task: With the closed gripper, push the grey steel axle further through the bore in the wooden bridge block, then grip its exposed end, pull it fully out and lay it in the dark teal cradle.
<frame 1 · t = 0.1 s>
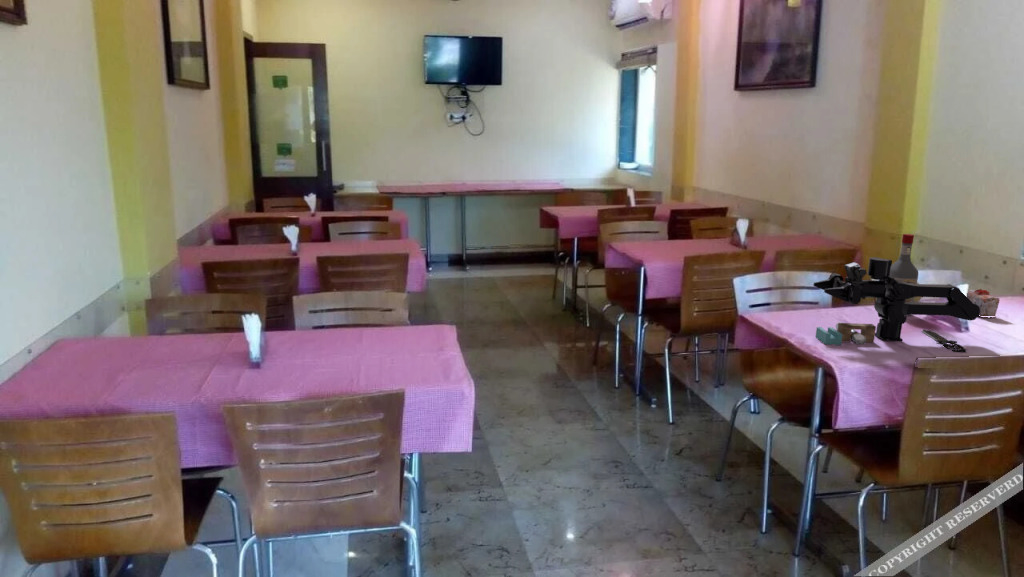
hand: (819, 287, 253), 17 cm above the table, tool horizontal, fingers open, 9 cm apart
cradle: (828, 340, 251), on the table
food item: (976, 315, 294), on the table
liquor: (896, 313, 291), on the table
tan rounded piece: (907, 305, 304), on the table
knife: (940, 342, 256), on the table
wooden bridge block: (854, 340, 253), on the table
axle: (849, 337, 257), on the table
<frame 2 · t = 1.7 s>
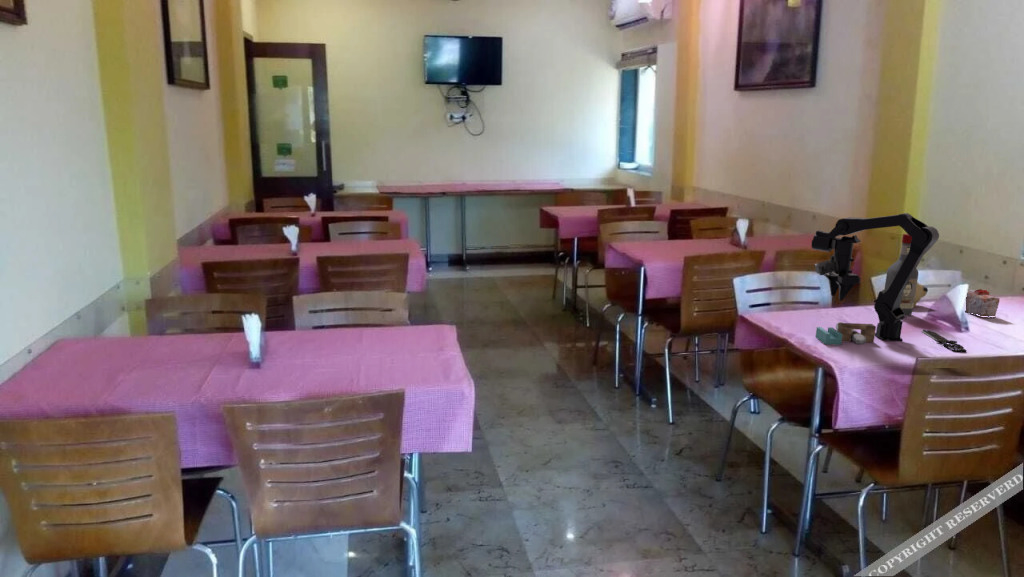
hand: (836, 298, 268), 10 cm above the table, tool pointing down, fingers open, 6 cm apart
nothing on the table moved.
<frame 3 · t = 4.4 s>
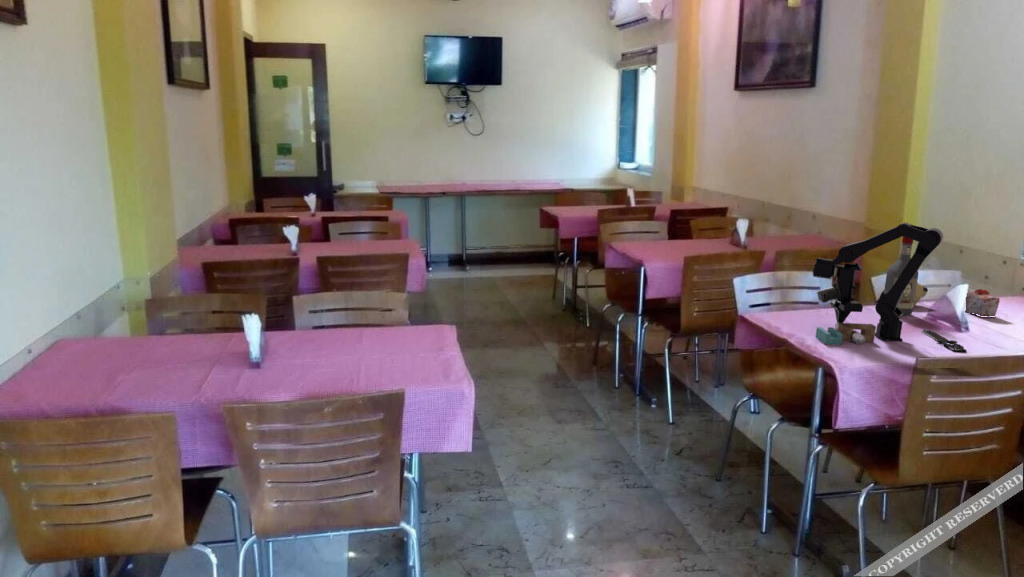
hand: (839, 325, 265), 1 cm above the table, tool pointing down, fingers closed
axle: (849, 337, 257), on the table, tilted 7°, touching gripper
everything else where it was.
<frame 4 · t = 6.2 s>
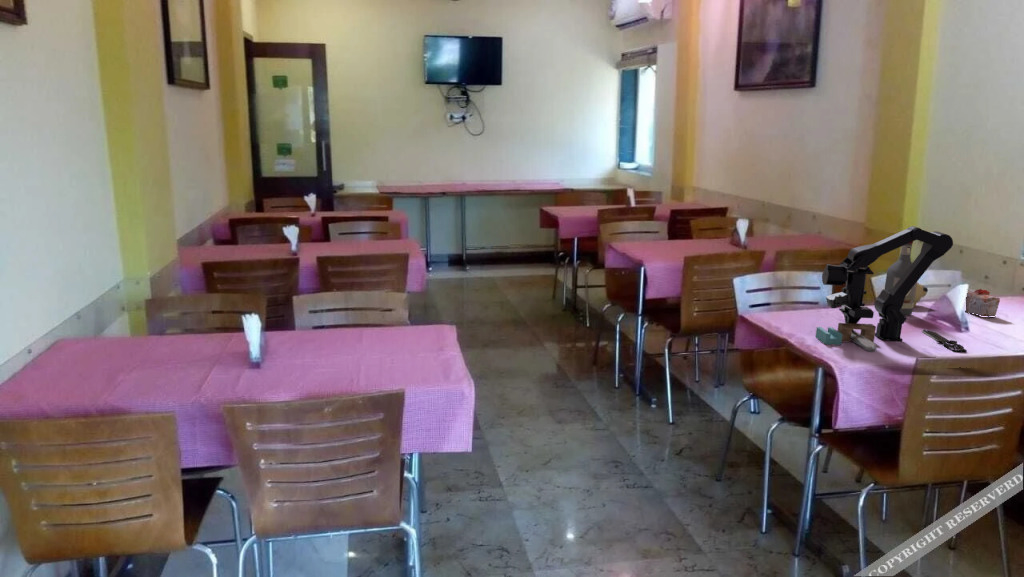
hand: (848, 331, 258), 2 cm above the table, tool pointing down, fingers closed
axle: (860, 344, 249), on the table, tilted 9°, touching gripper
everything else where it was.
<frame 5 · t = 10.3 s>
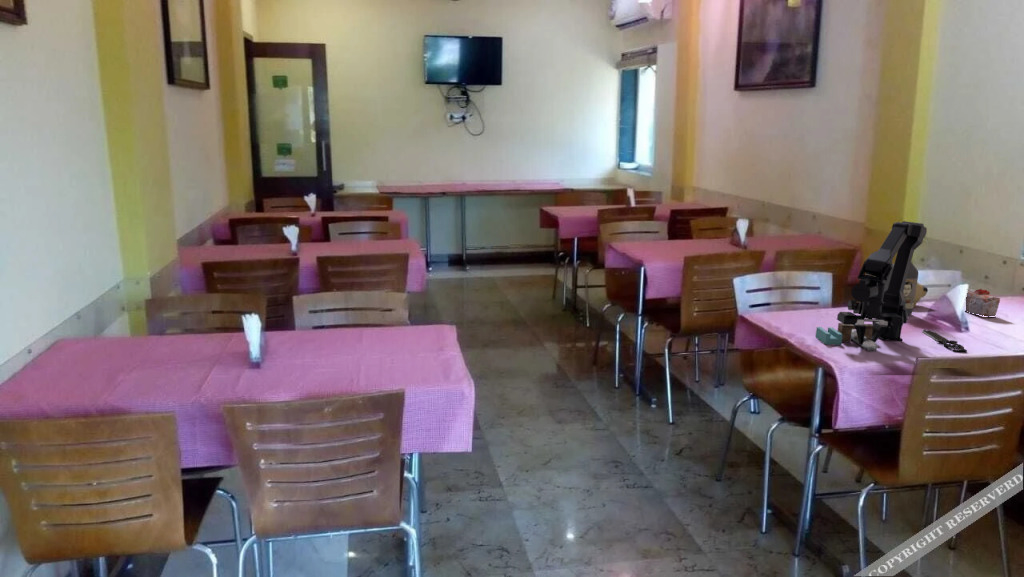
hand: (866, 344, 245), 1 cm above the table, tool pointing down, fingers closed on axle, 3 cm apart
axle: (859, 344, 249), on the table, touching gripper
everything else where it was.
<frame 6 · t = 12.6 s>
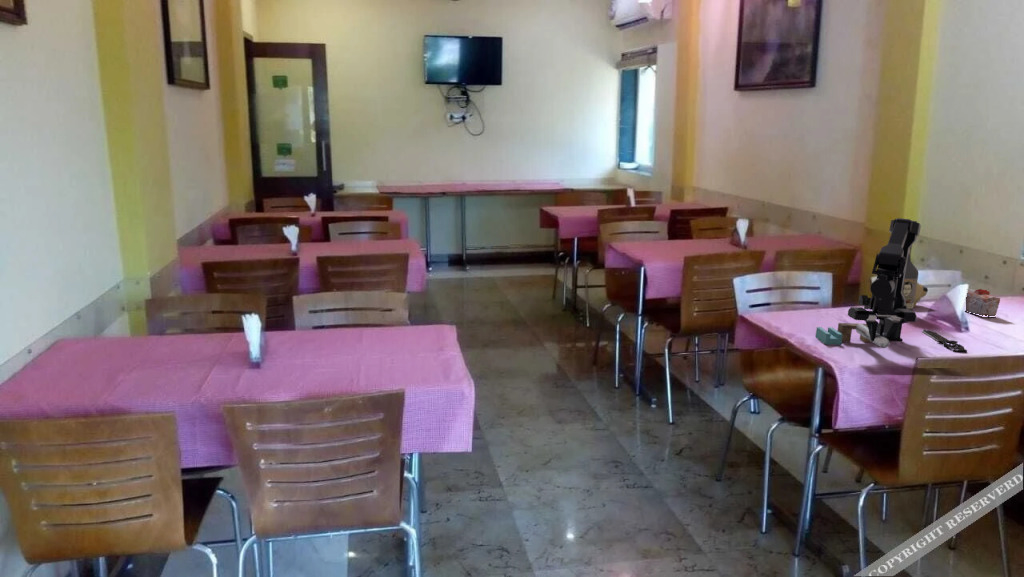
hand: (877, 341, 237), 4 cm above the table, tool pointing down, fingers closed on axle, 3 cm apart
axle: (871, 340, 242), point 3 cm above the table, touching gripper
everything else where it was.
when the fingers open (5 cm above the table, at t = 15.1 s): axle drops 1 cm, resting on cradle.
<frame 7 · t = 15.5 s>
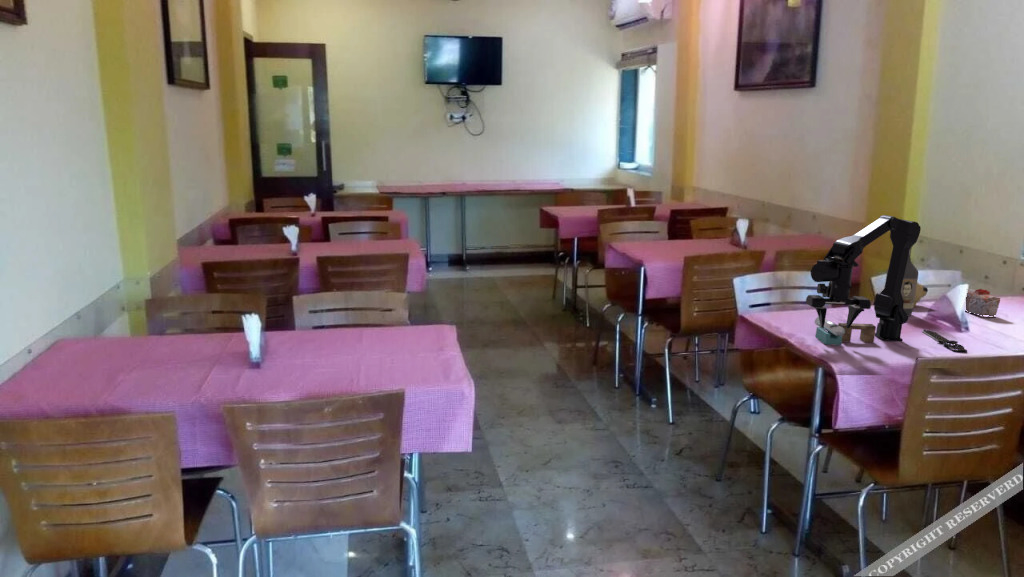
hand: (834, 327, 247), 5 cm above the table, tool pointing down, fingers open, 8 cm apart
axle: (828, 331, 251), point 3 cm above the table, touching cradle
everything else where it was.
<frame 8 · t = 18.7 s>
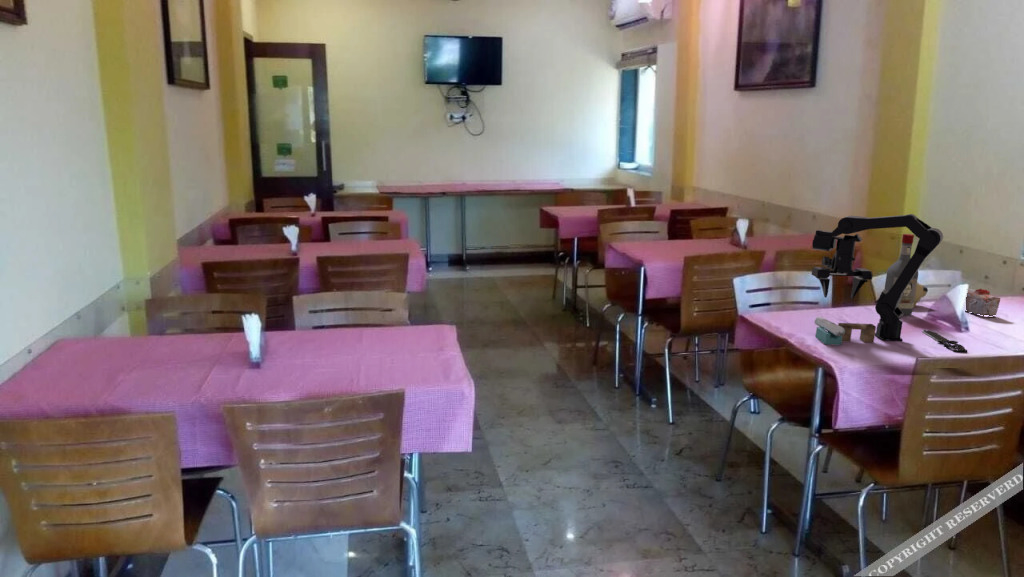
hand: (838, 297, 264), 11 cm above the table, tool pointing down, fingers open, 9 cm apart
nothing on the table moved.
at the end: axle inside the target area on the cradle (0.5 cm from its centre), point 3.2 cm above the cradle's base; axle tilted 4°; axle touching cradle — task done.
